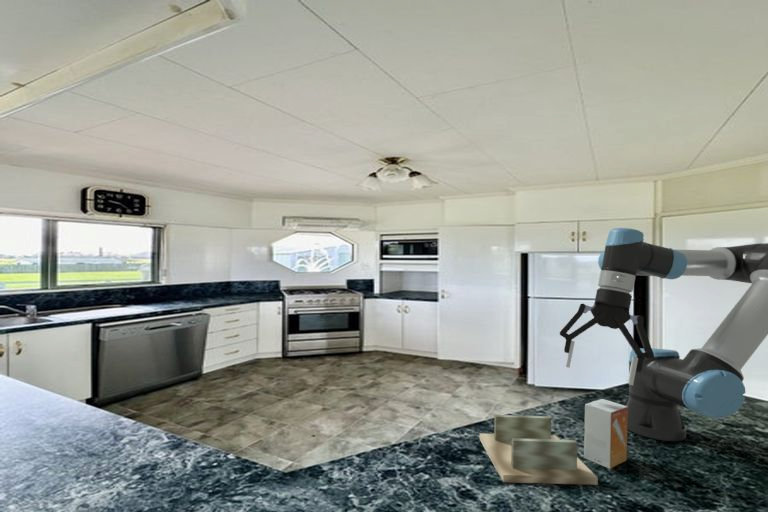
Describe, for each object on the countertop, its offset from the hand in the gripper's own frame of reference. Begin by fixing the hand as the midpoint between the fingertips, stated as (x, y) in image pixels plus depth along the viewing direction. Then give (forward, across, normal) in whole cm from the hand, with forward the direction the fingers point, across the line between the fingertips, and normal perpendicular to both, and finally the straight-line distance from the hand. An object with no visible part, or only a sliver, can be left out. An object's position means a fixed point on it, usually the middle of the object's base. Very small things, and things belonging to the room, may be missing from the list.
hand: (597, 375), depth 94 cm
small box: (+19, +5, +1) cm, 20 cm away
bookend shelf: (+22, -11, -7) cm, 26 cm away
